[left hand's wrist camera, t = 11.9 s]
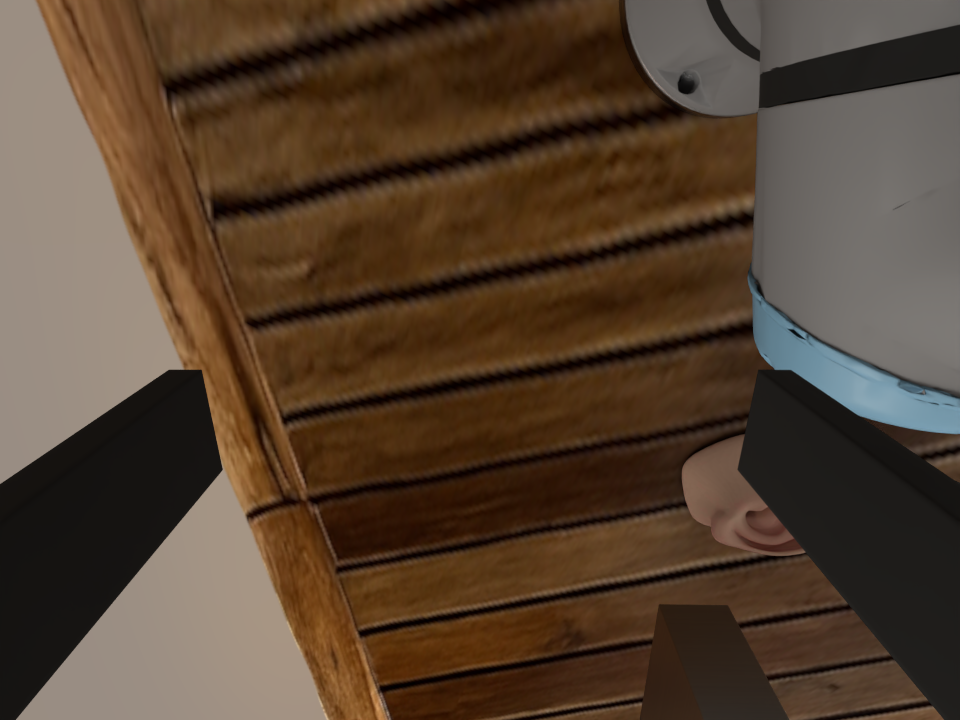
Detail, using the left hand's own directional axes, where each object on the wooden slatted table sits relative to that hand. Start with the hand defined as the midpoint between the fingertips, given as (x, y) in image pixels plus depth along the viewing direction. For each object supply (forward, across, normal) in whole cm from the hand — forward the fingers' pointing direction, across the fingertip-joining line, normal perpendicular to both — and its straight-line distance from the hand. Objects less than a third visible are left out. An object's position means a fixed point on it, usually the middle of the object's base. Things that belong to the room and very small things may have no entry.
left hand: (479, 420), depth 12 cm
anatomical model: (+29, +25, -22) cm, 44 cm away
